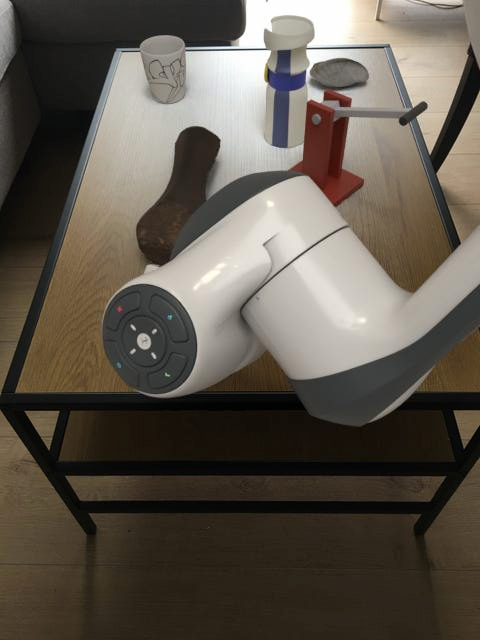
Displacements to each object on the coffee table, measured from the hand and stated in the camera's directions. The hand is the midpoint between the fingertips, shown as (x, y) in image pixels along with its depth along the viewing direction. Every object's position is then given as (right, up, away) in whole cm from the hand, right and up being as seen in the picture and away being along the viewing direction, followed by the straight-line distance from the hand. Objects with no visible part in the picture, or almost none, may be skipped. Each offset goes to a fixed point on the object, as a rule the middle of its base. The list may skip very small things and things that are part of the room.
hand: (260, 312), depth 61 cm
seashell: (+18, +48, +49) cm, 71 cm away
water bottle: (+6, +33, +38) cm, 50 cm away
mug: (-16, +45, +48) cm, 68 cm away
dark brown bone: (-11, +16, +25) cm, 31 cm away
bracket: (+11, +22, +28) cm, 37 cm away
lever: (+15, +27, +14) cm, 34 cm away
